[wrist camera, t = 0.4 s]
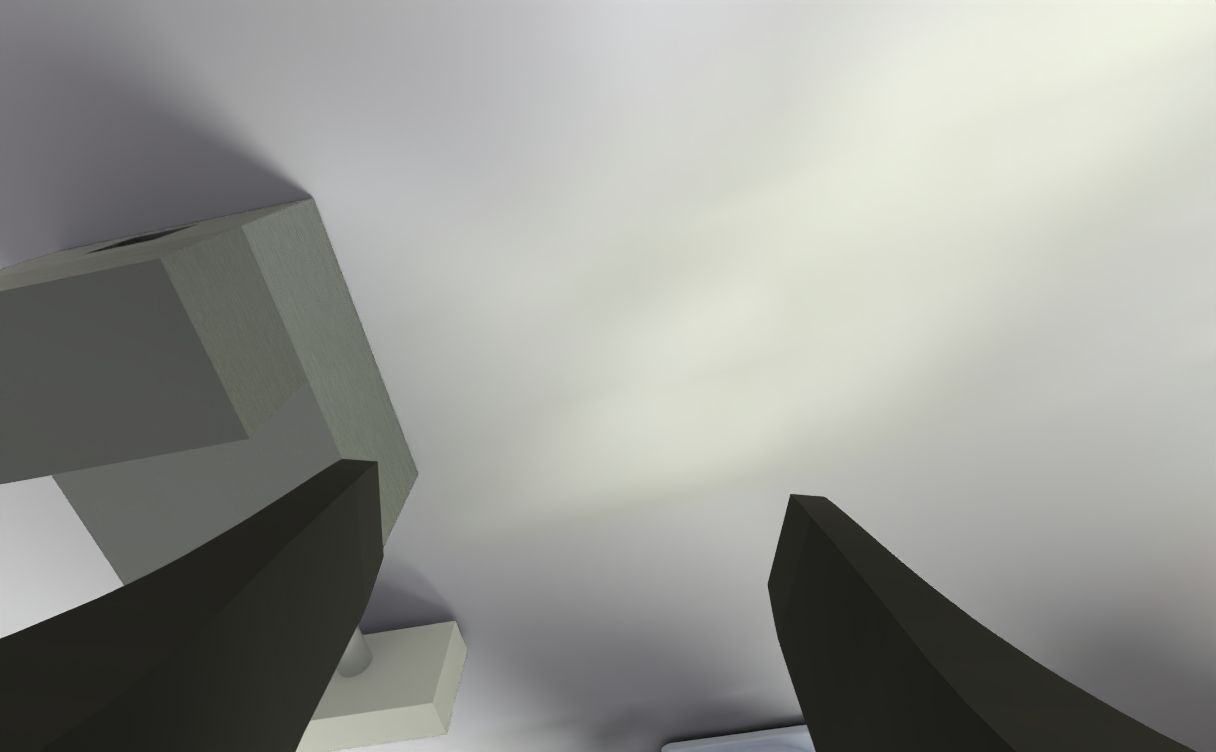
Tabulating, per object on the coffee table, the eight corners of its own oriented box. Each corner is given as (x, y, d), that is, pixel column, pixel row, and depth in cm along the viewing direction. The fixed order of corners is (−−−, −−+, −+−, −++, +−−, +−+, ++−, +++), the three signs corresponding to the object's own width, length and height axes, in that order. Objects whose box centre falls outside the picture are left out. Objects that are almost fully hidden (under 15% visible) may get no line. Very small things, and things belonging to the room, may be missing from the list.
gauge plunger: (467, 650, 25) (446, 734, 22) (193, 692, 26) (134, 778, 23) (375, 417, 21) (332, 479, 18) (50, 476, 22) (-47, 545, 19)
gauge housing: (418, 474, 22) (343, 630, 16) (204, 511, 23) (50, 675, 17) (312, 197, 18) (160, 258, 12) (58, 251, 19) (-215, 336, 13)
